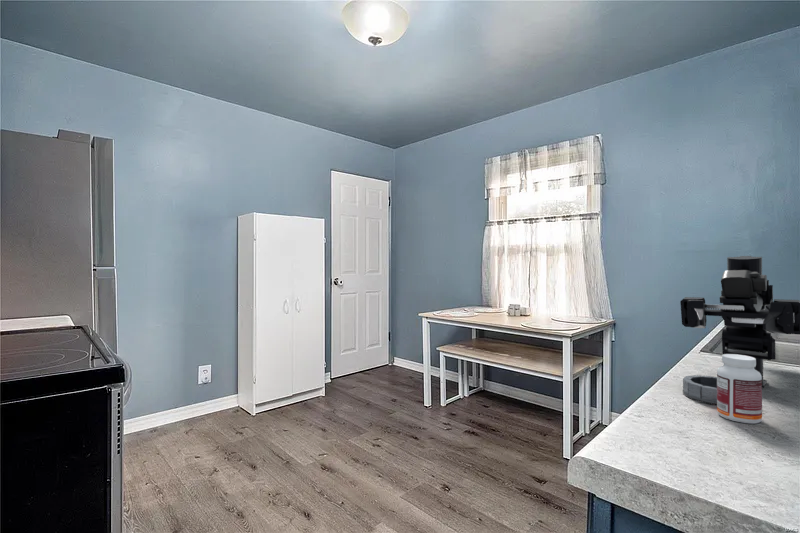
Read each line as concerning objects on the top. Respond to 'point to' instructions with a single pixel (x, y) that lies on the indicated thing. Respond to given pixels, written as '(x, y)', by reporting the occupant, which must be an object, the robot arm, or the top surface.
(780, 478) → the top surface
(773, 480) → the top surface
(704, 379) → the ring
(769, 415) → the top surface
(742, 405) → the pill bottle
